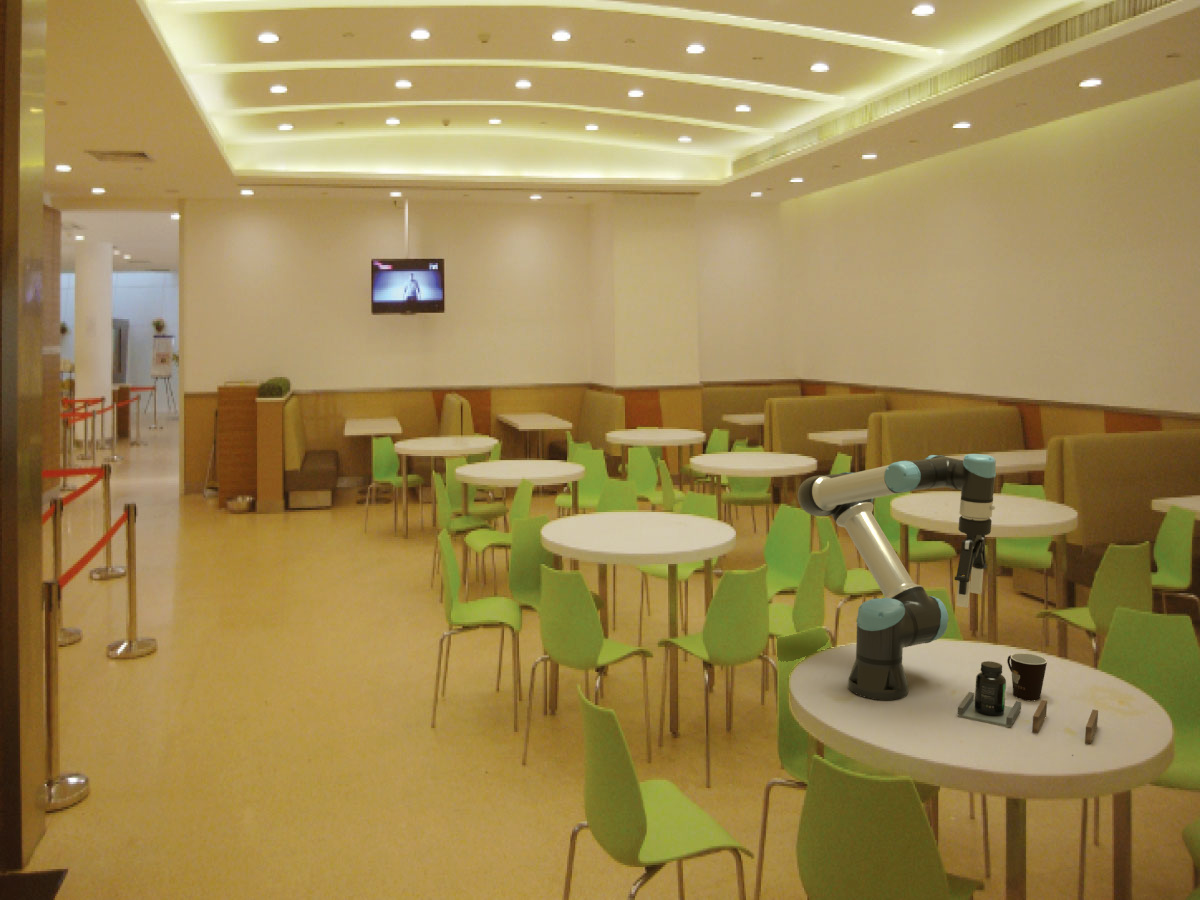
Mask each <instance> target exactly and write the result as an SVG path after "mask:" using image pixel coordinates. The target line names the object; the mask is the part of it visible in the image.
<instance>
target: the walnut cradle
mask: <svg viewBox="0 0 1200 900" xmlns="http://www.w3.org/2000/svg"><path fill="white" fill-rule="evenodd" d="M1047 709H1048V700H1046V699H1041V700H1040V702H1039V705H1038V706H1037V709H1036V710H1035V712H1034V713H1033V715H1032V728H1031V730H1032V731H1031V733H1034V734H1038V733H1039V731H1040V730H1041V728H1042V726H1043V723H1044V722H1045V720H1046V718H1047V711H1048V710H1047ZM1045 717H1046V718H1045ZM1098 717H1099V710H1098V709H1092V710H1091V712H1090V716H1089V718H1088V721H1087V723H1086V726H1085V737H1084V738H1085V739H1084V744H1086V743H1088V744H1087V745H1091V744H1092V742H1093V739H1094V737H1093V736H1095V734H1096V731H1097V728H1098V722H1099V721H1098V720H1099V718H1098ZM1044 719H1045V720H1044ZM1094 733H1095V734H1094Z"/></svg>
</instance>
